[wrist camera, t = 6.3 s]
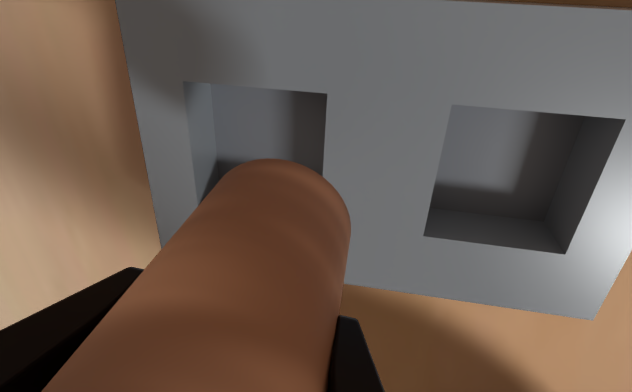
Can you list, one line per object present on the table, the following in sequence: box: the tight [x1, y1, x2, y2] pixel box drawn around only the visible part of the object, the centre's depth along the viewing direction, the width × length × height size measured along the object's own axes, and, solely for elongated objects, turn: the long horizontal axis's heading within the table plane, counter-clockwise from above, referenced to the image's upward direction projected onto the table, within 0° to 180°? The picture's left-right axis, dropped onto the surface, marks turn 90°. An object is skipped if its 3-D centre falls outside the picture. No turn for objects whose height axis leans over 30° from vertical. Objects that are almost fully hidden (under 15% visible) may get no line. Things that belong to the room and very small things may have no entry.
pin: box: [41, 158, 351, 392], centre depth 6 cm, size 4×4×10 cm
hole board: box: [115, 0, 632, 320], centre depth 17 cm, size 12×20×4 cm, turn 88°
